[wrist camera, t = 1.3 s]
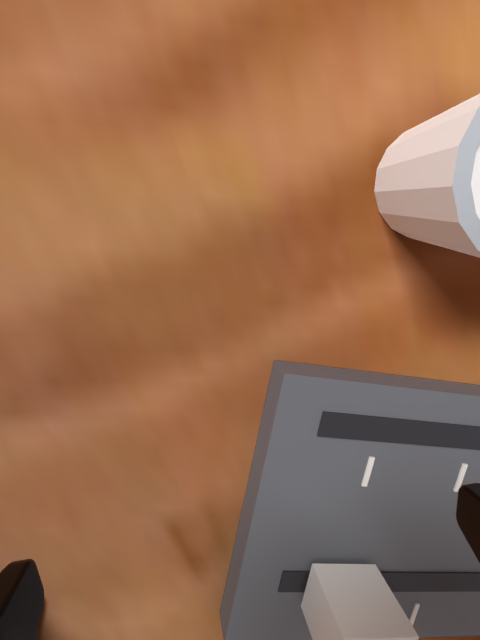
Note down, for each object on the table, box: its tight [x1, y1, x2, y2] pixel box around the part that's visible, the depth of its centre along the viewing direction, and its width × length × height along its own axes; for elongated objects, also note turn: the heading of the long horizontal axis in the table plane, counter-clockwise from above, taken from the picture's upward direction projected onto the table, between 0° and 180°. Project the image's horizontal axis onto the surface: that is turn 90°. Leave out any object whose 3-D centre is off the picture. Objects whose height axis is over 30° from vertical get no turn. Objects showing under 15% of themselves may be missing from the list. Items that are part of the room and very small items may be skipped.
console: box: [220, 360, 480, 640], centre depth 26 cm, size 17×24×2 cm
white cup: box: [374, 94, 480, 258], centre depth 18 cm, size 7×7×7 cm
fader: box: [301, 563, 419, 640], centre depth 22 cm, size 3×4×4 cm
